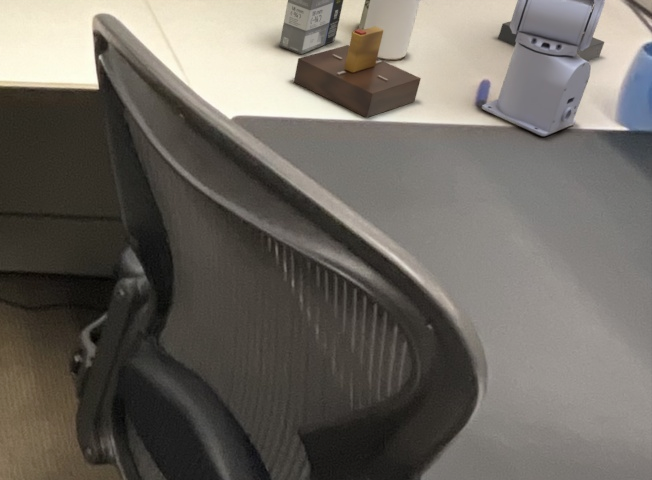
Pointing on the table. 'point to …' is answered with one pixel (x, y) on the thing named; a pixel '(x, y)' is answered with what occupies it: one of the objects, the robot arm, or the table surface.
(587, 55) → the dark grey rectangular block
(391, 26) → the can
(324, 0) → the tape cartridge
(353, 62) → the thumbturn
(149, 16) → the table surface
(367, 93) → the plate
